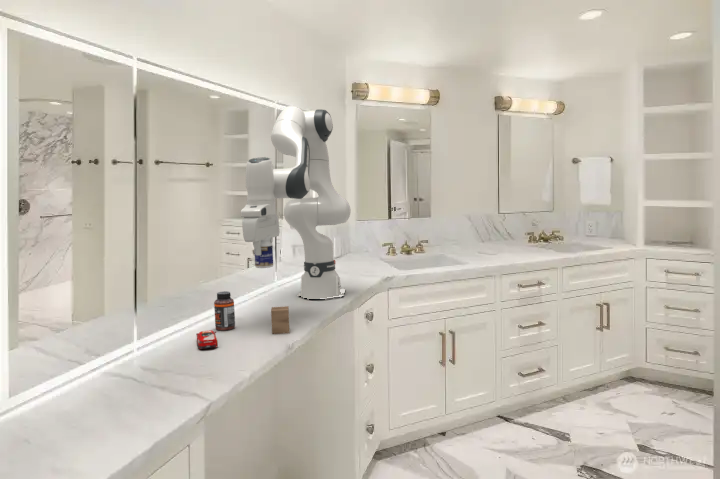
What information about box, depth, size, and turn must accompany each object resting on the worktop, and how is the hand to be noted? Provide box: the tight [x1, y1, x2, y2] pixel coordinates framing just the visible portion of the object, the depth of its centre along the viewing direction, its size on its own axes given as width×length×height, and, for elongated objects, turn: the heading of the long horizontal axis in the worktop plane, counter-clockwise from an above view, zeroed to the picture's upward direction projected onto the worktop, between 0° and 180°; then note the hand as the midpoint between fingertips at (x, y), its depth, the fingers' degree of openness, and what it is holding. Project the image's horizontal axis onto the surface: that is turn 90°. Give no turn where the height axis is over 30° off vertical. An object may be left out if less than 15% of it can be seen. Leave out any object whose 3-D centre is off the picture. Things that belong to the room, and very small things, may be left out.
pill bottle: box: [253, 236, 274, 269], centre depth 169 cm, size 6×6×10 cm
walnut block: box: [270, 305, 290, 335], centre depth 160 cm, size 5×5×7 cm
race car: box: [196, 330, 219, 350], centre depth 149 cm, size 13×5×4 cm, turn 18°
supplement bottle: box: [213, 291, 236, 332], centre depth 165 cm, size 6×6×11 cm
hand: (263, 253), depth 169 cm, fingers closed on pill bottle, 6 cm apart
